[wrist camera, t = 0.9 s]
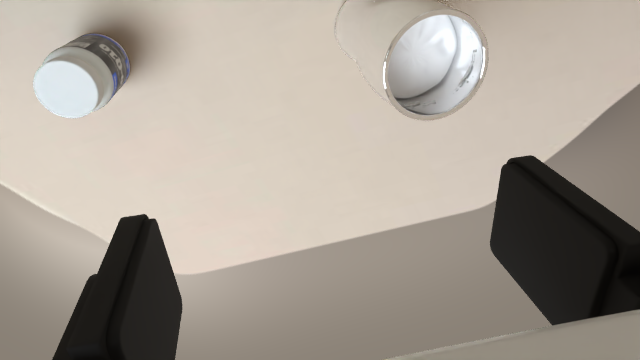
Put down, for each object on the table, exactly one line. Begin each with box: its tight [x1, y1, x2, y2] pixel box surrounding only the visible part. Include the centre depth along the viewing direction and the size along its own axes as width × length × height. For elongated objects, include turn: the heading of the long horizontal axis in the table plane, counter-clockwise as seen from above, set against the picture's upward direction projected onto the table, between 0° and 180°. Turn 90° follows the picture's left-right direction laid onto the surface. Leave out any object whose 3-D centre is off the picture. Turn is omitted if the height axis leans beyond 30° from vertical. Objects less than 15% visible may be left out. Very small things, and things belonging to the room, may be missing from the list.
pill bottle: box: [33, 34, 130, 118], centre depth 32 cm, size 5×5×8 cm
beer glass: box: [335, 0, 488, 120], centre depth 32 cm, size 7×7×15 cm
